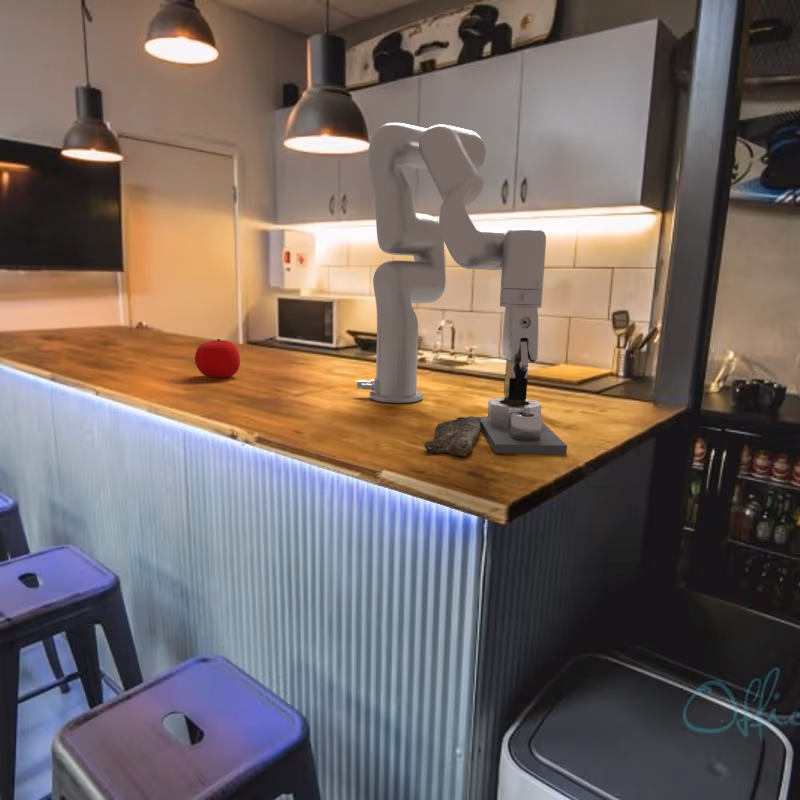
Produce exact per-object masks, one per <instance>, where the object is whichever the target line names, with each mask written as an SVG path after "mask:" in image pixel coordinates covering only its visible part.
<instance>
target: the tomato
mask: <svg viewBox="0 0 800 800" xmlns="http://www.w3.org/2000/svg"><path fill="white" fill-rule="evenodd" d="M194 363H195V366H196V368H197V369H198V371H199V372H200V373H201V374H202V375H203V376H204V377H208V378H211V379H225V378H230V377H233V376H234V375H235V374H236V373H237V372H238V370H239V369H240V364H241V356H240V352H239V349H238V347H237V345H235V343H233V342H232V341H230V340H221V339H220V338H218V339H216V340H207V341H205V342H203V343H201V344H200V345H199V346H198V347H197V349H196V352H195V355H194Z"/></svg>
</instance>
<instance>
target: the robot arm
mask: <svg viewBox="0 0 800 800" xmlns="http://www.w3.org/2000/svg"><path fill="white" fill-rule="evenodd" d="M369 143H370V144H369V147H368V154H367V156H368V157H367V163H368V168H369V172H370V173H369V174H370V178H371V182H372V186H373V187H372V188H373V194H374V206H375V207H374V208H375V209H374V210H375V211H374V212H375V222H376V236H377V237H376V238H377V244H378V247H379V248H380V250H381V252H383V253H385V254H389V255H395V256H411V257H413V260H389V261H385V262H383V263H381V264H380V265H379V266H377V268H376V269H375V271H374V274H373V278H372V286H373V292H374V293H373V294H374V297H375V305H376V364H375V365H376V369H375V371H376V375H375V376H374V379H370V380H359V379H358V380H356V389H361V390H370V392H369V395H368V396H369V399H371V400H373V401H376V402H382V403H390V404H392V403H393V404H405V403H406V404H407V403H416V402H419V401H422V400H423V399H424V394H423V393H422V392H420V391H418V390H417V386H418V385H417V383H418V382H417V379H418V349H419V321H418V317H417V315H416V314H417V313H416V312H415V310H414V308H413V305H412V304H430V303H434V302H437V301H439V300H440V299H441V297H442V296H443V294H444V291H445V288H446V281H447V280H446V257H445V255H446V254H445V246H446V249H447V250H448V253H449V255H450V256H451V258H452V259H453V260H454V262H455V263H456V264H457V265H458V266H459V267H461V268H463V269H466V270H483V271H484V270H487V271H488V270H489V271H501V275H500V276H501V277H500V295H499V296H500V297H499V307H501V308H503V307H504V315H503V316H504V317H503V327H502V329H503V330H502V355H503V356H504V357H505V358H506V359H509V360H510V361H511V362H512V373H511V378H510V380H509V396H508V398H509V399H510V400H525V399H527V391H528V376H529V375H528V370H529V362H531V363H536V362H537V361H538V356H539V355H538V351H539V349H538V347H539V346H538V345H539V310H538V309H541V308H542V304H543V288H544V276H545V275H544V274H545V260H546V247H547V236H546V233H545V232H544V231H543V230H541V229H538V228H512V229H508V230H506V229H505V230H504V229H495V228H486V227H475V225H474V224H473V222H472V220H471V218H470V216H469V214H468V211H467V209H466V207H467V206H469V205H470V204H472V203H473V202H474V201H475V200H477V198H478V197H479V196H480V194H481V193H482V191H483V187H484V181H483V178H482V176H481V174H480V173H479V171H478V170H479V169H481V168H482V166H483V164H484V163H485V158H486V147H485V144H484V141H483V138H482V137H481V136H480V135H479V134H478V133H477V132H475V131H473V130H469V129H466V128H461V127H456V126H453V125H447V124H435V125H433V126H430V127H428V128H425V127H420V126H417V125H412V124H408V123H402V122H388V123H384V124H383V125H381V126H379V127H378V128H377V129H376V130H375V131H374V133H373V135H372V137H371V139H370V142H369ZM403 167H404V168H409V169H415V170H420V171H428V173H429V175H430V177H431V179H432V181H433V182H434V184H435V187H436V189H437V191H438V193H439V195H440V197H441V199H442V202H441V205H440V208H439V213H438V215H439V216H438V217H439V218H438V220H437V219H436V217H433V216H432V215H430V214H425V213H417V212H415V209H414V201H413V200H414V199H413V195H414V194H413V191H412V188H411V187H412V186H411V184H410V182H409V180H408V178H407V177H406V175H405V173H404V172H403V170H402V169H403ZM515 354H516V357H515ZM528 356H529V357H528ZM516 358H520V361H515V359H516ZM516 365H517V367H516ZM518 365H519V366H518ZM505 375H506V369H505V374H504V376H505ZM504 392H505V381H504V384H503V393H504Z"/></svg>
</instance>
